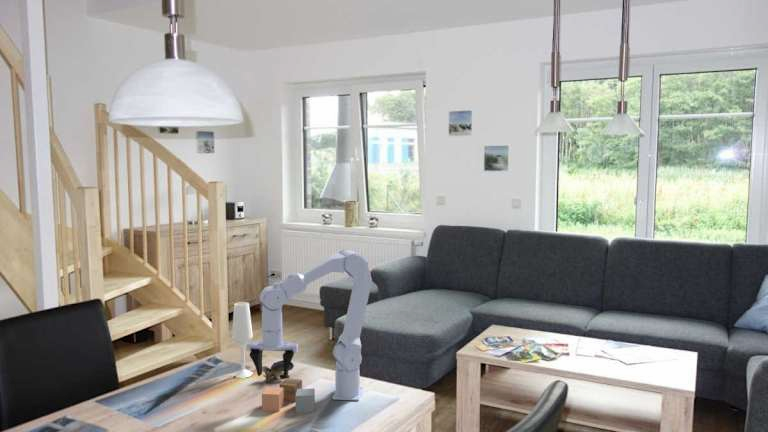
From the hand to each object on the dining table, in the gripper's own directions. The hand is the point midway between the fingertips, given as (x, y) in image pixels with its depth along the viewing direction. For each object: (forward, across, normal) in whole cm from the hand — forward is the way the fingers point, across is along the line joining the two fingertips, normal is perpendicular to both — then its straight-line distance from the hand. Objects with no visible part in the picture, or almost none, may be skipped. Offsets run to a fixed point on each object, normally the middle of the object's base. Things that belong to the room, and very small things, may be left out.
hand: (272, 375), depth 170 cm
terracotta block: (+10, 0, 0) cm, 10 cm away
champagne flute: (+10, -17, +24) cm, 31 cm away
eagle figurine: (+10, -5, +20) cm, 23 cm away
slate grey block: (+10, +9, 0) cm, 13 cm away
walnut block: (+10, +3, +7) cm, 12 cm away
